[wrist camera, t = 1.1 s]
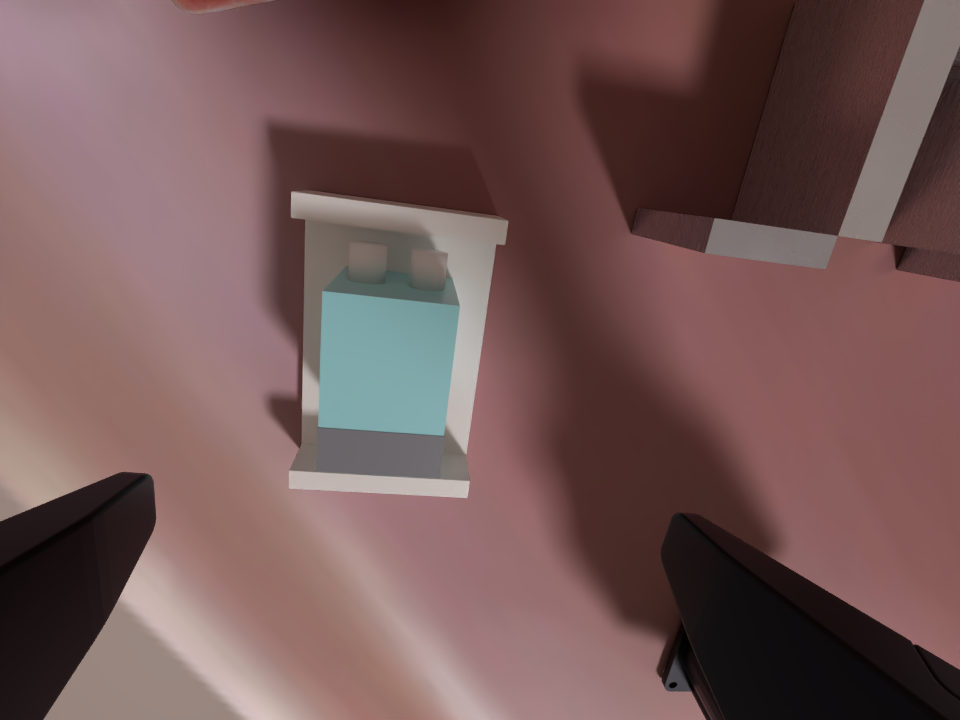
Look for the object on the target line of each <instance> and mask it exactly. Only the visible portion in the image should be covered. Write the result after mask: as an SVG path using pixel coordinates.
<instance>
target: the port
mask: <svg viewBox="0 0 960 720" xmlns="http://www.w3.org/2000/svg"><path fill="white" fill-rule="evenodd" d="M632 234H634V235H637V236H641V237H645V238H649V239H653V240H656V241H660V242H664V243H668V244H672V245H675V246H679V247H683V248H687V249H691V250H694V251H698V252H702V253H707V254H714V255H722V256H729V257H737V258H744V259H752V260H759V261H767V262H774V263H782V264H789V265H797V266H804V267H812V268H819V269H826V267H827V264H828V262H829V259H830V256H831V253H832V251H833V248H834V245H835V242H836V240H837V237H838V236H840V237H847V238H854V239H862V240H869V241H876V242H878V243H885V244H892V245H898V246H905V247H906V249H905V252H904V254H903V257H902V259H901V262H900V264H899V266H898V269H897V270H899V271H905V272H910V273H915V274H920V275H926V276H931V277H936V278H941V279H946V280H952V281H957V282H960V0H800V1H798V2H796V3H795V5H794V9H793V12H792V15H791V19H790V22H789V26H788V29H787V32H786V36H785V39H784V43H783V46H782V49H781V53H780V56H779V60H778V63H777V66H776V70H775V73H774V77H773V80H772V83H771V87H770V90H769V94H768V97H767V100H766V104H765V107H764V111H763V114H762V117H761V121H760V124H759V128H758V131H757V134H756V138H755V141H754V145H753V148H752V151H751V155H750V158H749V162H748V165H747V168H746V172H745V175H744V179H743V182H742V185H741V189H740V192H739V196H738V199H737V202H736V206H735V209H734V213H733V216H732V219H731V220H724V219H717V218H710V217H703V216H695V215H688V214H680V213H672V212H665V211H657V210H650V209H642V208H637V212H636V217H635V221H634V225H633V230H632Z"/></svg>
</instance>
